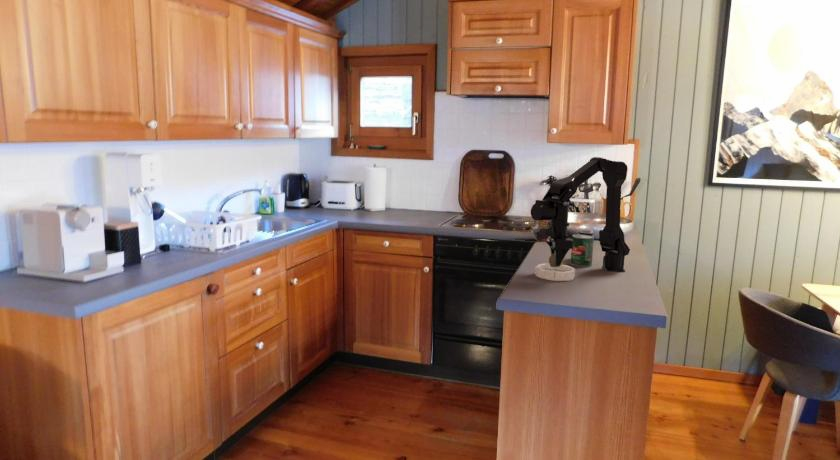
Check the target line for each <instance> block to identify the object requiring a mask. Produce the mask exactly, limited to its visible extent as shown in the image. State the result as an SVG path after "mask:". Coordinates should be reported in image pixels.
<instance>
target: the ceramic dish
mask: <svg viewBox="0 0 840 460" xmlns="http://www.w3.org/2000/svg"><path fill="white" fill-rule="evenodd" d="M534 268H535V269H534V270H535V271H534V272H535V277H537V278H539V279H542V280H547V281H554V282H568V281H569V282H570V281H573V280H574V279H575V276H576V269H575V268H574V267H573V266H569V265H566V264H562V265H561V266H559V267H551V266H550V264H549V263H539V264H536V265H535V267H534Z"/></svg>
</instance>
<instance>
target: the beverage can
mask: <svg viewBox="0 0 840 460" xmlns="http://www.w3.org/2000/svg"><path fill="white" fill-rule="evenodd" d="M593 230H594V229H591V228H584V227H583V228H579V230H578V233H577V234H582V235H590V236H593V237H594V231H593Z"/></svg>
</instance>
